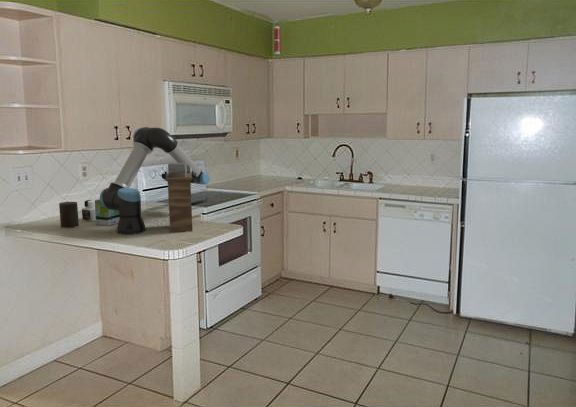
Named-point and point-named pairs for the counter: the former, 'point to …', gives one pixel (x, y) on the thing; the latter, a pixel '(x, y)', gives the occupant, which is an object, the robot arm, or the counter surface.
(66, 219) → the pillar candle
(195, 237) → the counter surface
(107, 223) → the tea box
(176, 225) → the pedestal
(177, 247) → the counter surface
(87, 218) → the medicine bottle
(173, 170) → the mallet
